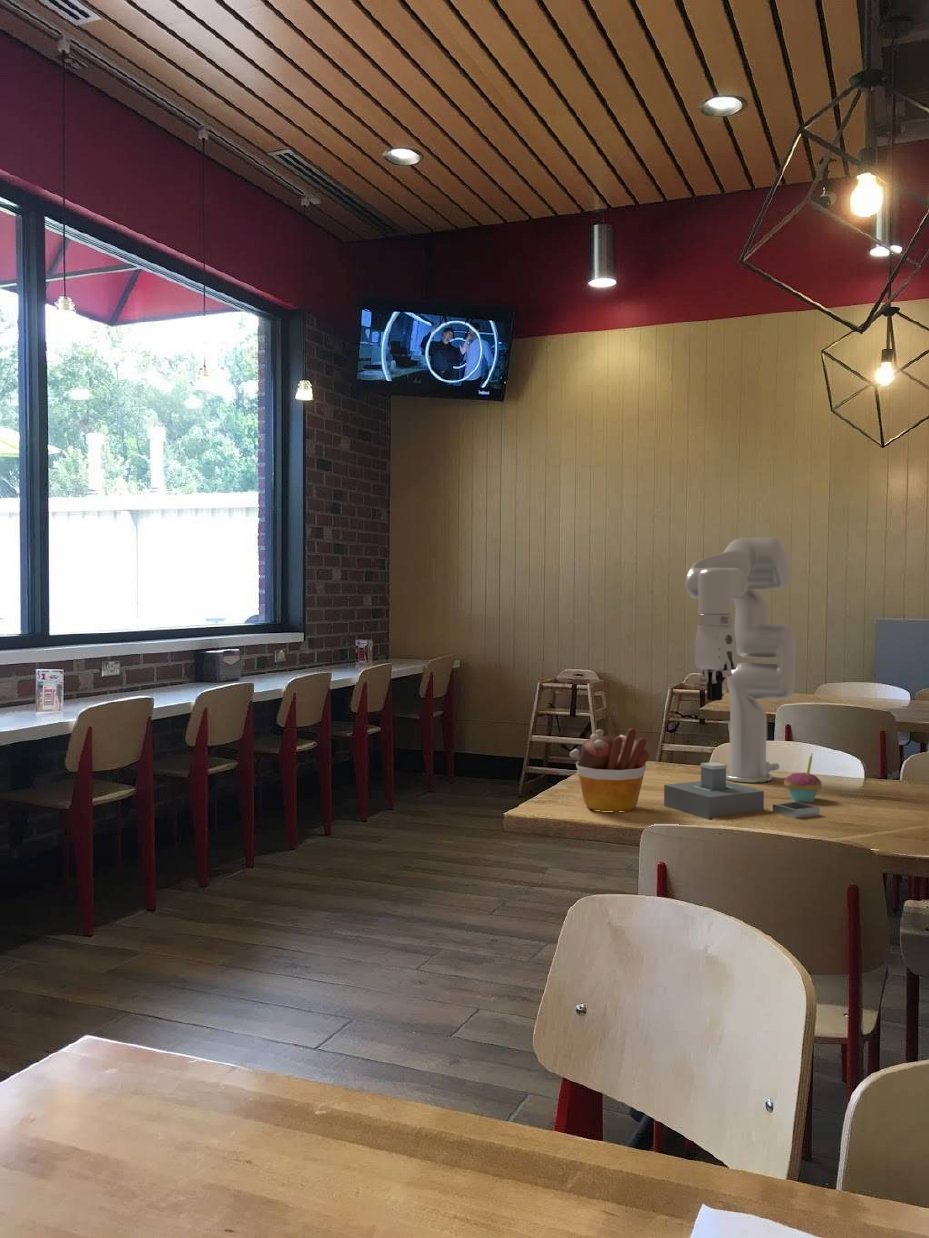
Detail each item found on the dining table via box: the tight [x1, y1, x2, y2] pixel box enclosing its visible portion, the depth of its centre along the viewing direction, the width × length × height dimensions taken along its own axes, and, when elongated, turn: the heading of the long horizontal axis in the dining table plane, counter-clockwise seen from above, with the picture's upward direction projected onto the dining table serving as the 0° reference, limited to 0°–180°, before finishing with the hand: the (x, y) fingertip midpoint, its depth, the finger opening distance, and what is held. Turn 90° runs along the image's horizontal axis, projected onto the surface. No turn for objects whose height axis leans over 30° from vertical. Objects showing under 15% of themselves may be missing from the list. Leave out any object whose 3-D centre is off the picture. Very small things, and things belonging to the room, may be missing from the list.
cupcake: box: [783, 753, 823, 803], centre depth 241 cm, size 9×8×12 cm
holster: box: [772, 801, 821, 819], centre depth 226 cm, size 7×7×2 cm
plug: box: [700, 761, 728, 791], centre depth 233 cm, size 4×4×10 cm
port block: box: [663, 780, 765, 820], centre depth 233 cm, size 16×16×5 cm
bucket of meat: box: [569, 727, 650, 812], centre depth 234 cm, size 20×16×20 cm
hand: (714, 699), depth 233 cm, fingers closed
